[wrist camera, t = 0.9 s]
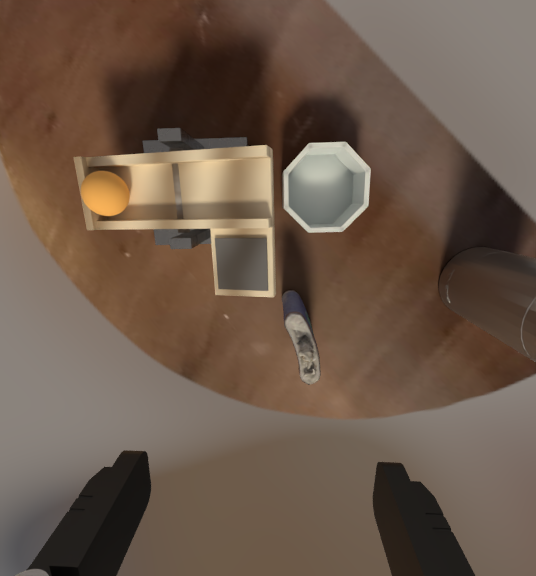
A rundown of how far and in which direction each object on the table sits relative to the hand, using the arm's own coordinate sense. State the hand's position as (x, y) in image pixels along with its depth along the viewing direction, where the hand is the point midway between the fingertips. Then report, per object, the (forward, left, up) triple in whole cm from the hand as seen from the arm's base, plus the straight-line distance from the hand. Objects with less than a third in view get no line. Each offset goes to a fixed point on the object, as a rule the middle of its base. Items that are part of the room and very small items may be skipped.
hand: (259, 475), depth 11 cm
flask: (-4, +7, -32) cm, 32 cm away
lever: (+8, -7, -23) cm, 25 cm away
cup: (-6, -10, -31) cm, 33 cm away
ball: (+15, -10, -21) cm, 28 cm away
